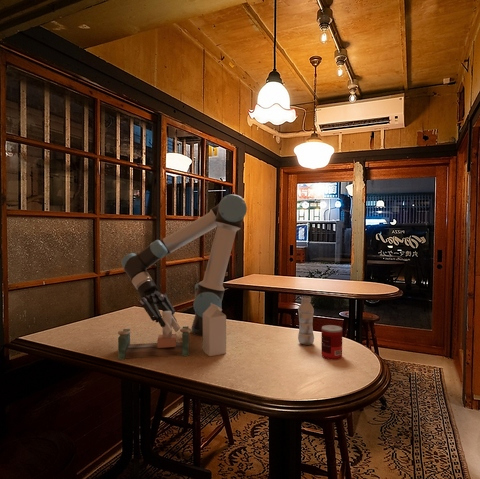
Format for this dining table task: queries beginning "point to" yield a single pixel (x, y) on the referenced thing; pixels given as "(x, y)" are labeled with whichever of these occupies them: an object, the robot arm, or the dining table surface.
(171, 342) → the carriage
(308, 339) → the plastic bottle
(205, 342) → the milk carton
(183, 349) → the rail board
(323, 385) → the dining table surface
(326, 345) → the canned food
